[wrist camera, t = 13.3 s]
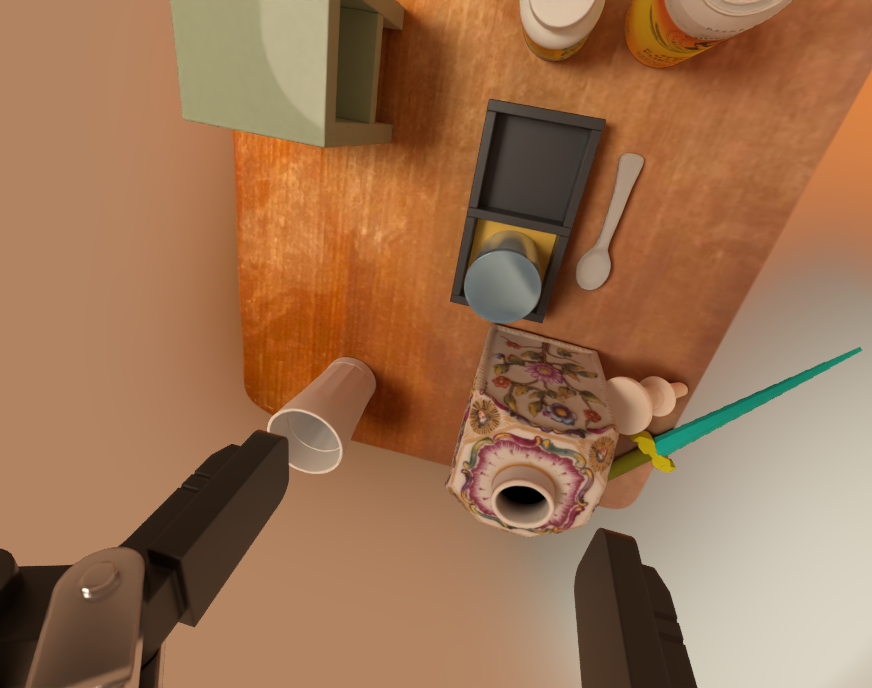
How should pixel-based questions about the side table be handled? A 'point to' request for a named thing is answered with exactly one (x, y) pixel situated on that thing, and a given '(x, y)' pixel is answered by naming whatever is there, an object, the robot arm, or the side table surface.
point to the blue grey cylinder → (504, 278)
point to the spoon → (608, 226)
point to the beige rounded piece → (642, 401)
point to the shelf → (285, 67)
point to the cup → (325, 415)
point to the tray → (528, 186)
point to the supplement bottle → (558, 25)
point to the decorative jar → (534, 435)
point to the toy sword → (706, 424)
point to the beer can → (689, 26)
